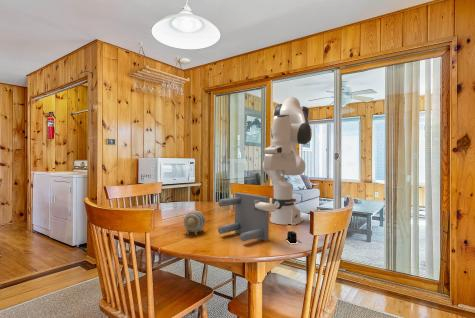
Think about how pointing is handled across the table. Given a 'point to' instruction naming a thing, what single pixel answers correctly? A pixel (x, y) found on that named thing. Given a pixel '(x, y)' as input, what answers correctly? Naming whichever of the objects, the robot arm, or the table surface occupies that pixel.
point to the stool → (247, 217)
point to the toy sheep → (194, 222)
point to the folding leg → (264, 206)
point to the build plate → (291, 237)
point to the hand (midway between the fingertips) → (280, 180)
